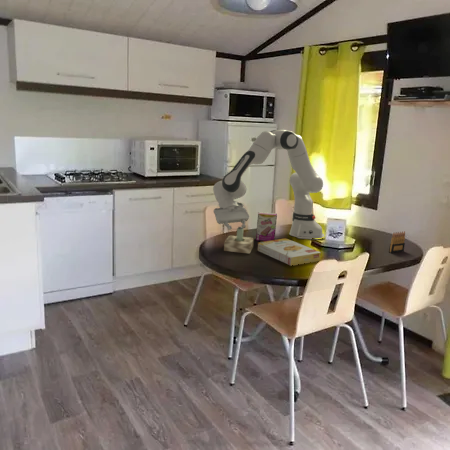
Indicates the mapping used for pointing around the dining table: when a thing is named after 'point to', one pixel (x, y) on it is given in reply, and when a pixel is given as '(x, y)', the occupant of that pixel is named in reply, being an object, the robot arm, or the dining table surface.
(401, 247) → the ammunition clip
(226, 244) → the block with square hole
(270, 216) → the candy bar box
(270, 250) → the cereal box
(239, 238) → the bottle
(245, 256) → the dining table surface
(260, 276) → the dining table surface
